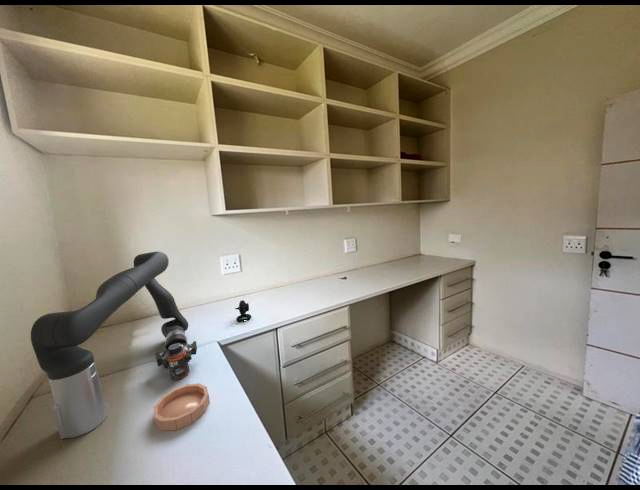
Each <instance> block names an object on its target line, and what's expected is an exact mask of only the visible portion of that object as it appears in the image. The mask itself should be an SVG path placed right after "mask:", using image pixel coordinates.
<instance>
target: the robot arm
mask: <svg viewBox="0 0 640 490" xmlns="http://www.w3.org/2000/svg"><path fill="white" fill-rule="evenodd" d="M169 263H170V262H169V257H168V255H167V254H166V253H164V252H163V251H150V252H146V253H140V254H137V255H136V256H135V257H134V258H133V267H131V268H127V269H125V270H122V271H120V272H118V273H116V274H114V275H113V276H111V277H109V278H107V279H106V280H105V281H104V282H103V283H101V284H100V285H99V286H98V288H97V290H96V294H95V298H94V300H93V301H91V302H89V303H88V304H86V305H85V306H82V308H79V309H76V310H72V311H71V310H70V311H69V310H68V311H58V312H50V313H46V314H44V315H42V316H40V317H39V318H37V319H36V320H35V321H34V323H33V324H32V326H31V330H30V341H31V345H32V349H33V351H34V354H35V357H36V359H37V363H38V365H39V367H40V369H41V370H42V371H43V372H45V373H46V375H47V379H48V382H49V383H48V384H49V386H50V389H51V394H52V397H53V401H54V405H52V413H53V416H54V419H55V424H56V428H57V431H58V435H59V438H60V440H63V439H64V440H65V439H67V438H68V439H71V438H72V439H73V438H77V437H80V436H83V435H85V434H88V433H90V432H91V431H93V430H94V429H96V428H97V427H99V426H100V425H101V424H102V423H103V422H104V421H105V419H106V418H107V415H108V412H107V406H106V404H105V399H104V395H103V391H102V387H101V383H100V378H99V375H98V369H97V366H96V362H95V358H94V357H95V356H94V354H93V352H92V351H91V350H89V349H85V348H83V347H80V346H79V345H82V344H83V343H85V342H86V341H88V340H89V339H90V338H91V337H92V336H93V335H94V334H95V333H97V330H99V329H100V327H101V326H103V324H104V323H105V322H106V321H107V320H108V319H109V318H110V316H112V315H113V314H114V313H115V312H117V311H118V309H119V308H121V306H122V305H124V304H125V303H126V302H128V301H129V300H130V299H131V298H132V297H134V296H135V295H136V294H137V293H138V292H139V291H140V290H142V288H144V287H145V288H146V290H147V292H148V293H149V294H150V296H151V297H152V300H153V301H154V303H155V306H156V308H157V311H158V313H159V317H161V319H164V320H166V319H167V320H168V319H171V320H169V321H165V322H164V323H163V324H162V325H161V327H160V328H161V330H160V331H161V334H162V335H163V337H164V338H165V341H164V350H163V352H155V354H154V355H155V361H156V364H157V366H158V367H161V366H162V367H163V369H165V370H169V366H168V361H167V354H168V353H169V350H168V348H169V346H171V345H173V344H176V343H180V344H181V346H182V348H184V349H185V351H186V356H187V362H188V363H190V361H191V360H192V355H193V356H194V355H196V354H197V349H198V344H197V341H196V340H194V341H192V343H191V344H189V343H188V339H187V336H186V333H185V332H187V330H188V328H189V321H188V320H187V319H186V317H185V316H183V314H182V313H181V312H180V311H179V309H178V306H177V303H176V301H175V298H174V297H173V295H172V293H171V292H169V290H167V289H166V288H165V287H164V286H162V285H161V284H160V283H159V282H158V280H156V277H158V276H160V275H161V274H162V273H164V272H165V271H166V270H167V268H168V267H169Z"/></svg>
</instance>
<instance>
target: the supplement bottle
mask: <svg viewBox="0 0 640 490" xmlns="http://www.w3.org/2000/svg"><path fill="white" fill-rule="evenodd" d="M168 350H169V353H168V354H167V361H168V368H169V369H168V371H169V375H170V379H171V380H174V381H176V380H181V379H183V378H186V376H187V375H189V373H190V367H189V362H187V356H186V351H185V349H184V348H182V346H181V344H180V343H176V344H173V345H171V346H169V348H168Z"/></svg>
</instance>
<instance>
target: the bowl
mask: <svg viewBox="0 0 640 490" xmlns="http://www.w3.org/2000/svg"><path fill="white" fill-rule="evenodd" d="M210 402H211V401H210V397H209V390H208V387H207V385H204V384H202V383H200V382H199V383H188V384H185V385H181V386H180V387H176V388H174V389H172V390H170V391H168V393H166V394H165V395H163V396H161V398H159V400H158V402H157V403H156V404H155V405H154V406H153V414H152V415H153V416H152V417H153V423H154V426H155V427H156V428H158V429H159V430H161V431H162V432H167V431H177V430H180V429H182V428H185V427H187V426H188V425H191V424H193V423H194V422H196V421H197V420H198V419H199V418H200V417H202V416H203V415H204V414H205V413H206V411H207V409H208V407H209V406H210Z"/></svg>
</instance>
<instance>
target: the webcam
mask: <svg viewBox="0 0 640 490" xmlns="http://www.w3.org/2000/svg"><path fill="white" fill-rule="evenodd" d="M235 310H238V311H239V314H240V315H238V316H237V317H236V321H237V320H238V321H244V320H248V319H249V320H251V319H252V315H251V314H250V313H247V312H249V311H250V305H249V303H248V302H247V303H246V301H245V300H244V299H243V300H239V304H238V307H235ZM250 318H251V319H250ZM249 320H248V321H249ZM238 321H237V322H238Z"/></svg>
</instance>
